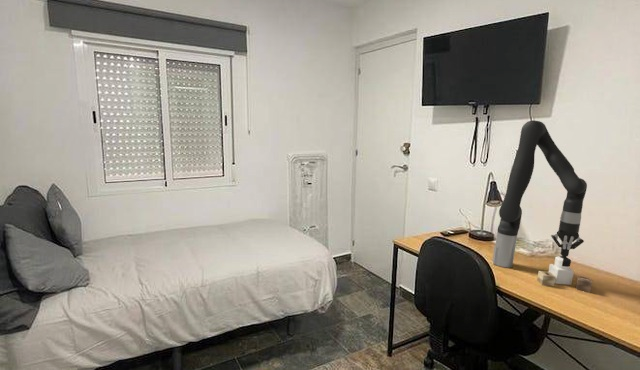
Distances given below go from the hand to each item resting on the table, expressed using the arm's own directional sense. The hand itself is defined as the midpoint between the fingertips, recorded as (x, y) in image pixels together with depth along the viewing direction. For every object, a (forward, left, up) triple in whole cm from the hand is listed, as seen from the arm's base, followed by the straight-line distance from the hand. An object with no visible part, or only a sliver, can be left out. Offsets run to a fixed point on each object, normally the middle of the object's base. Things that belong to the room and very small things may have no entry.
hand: (564, 256), depth 159 cm
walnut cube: (+8, -5, -13) cm, 16 cm away
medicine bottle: (0, 0, -13) cm, 13 cm away
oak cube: (-7, -6, -13) cm, 16 cm away
